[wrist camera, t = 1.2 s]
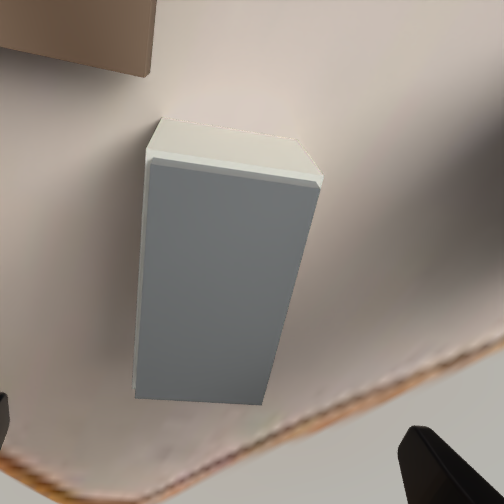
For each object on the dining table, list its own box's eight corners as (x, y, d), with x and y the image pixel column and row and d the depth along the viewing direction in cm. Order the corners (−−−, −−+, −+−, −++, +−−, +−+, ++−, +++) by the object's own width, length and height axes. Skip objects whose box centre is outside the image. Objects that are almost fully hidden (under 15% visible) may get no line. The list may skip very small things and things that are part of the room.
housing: (162, 116, 15) (142, 155, 10) (296, 138, 16) (329, 183, 11) (147, 315, 19) (128, 401, 15) (253, 324, 20) (265, 409, 15)
